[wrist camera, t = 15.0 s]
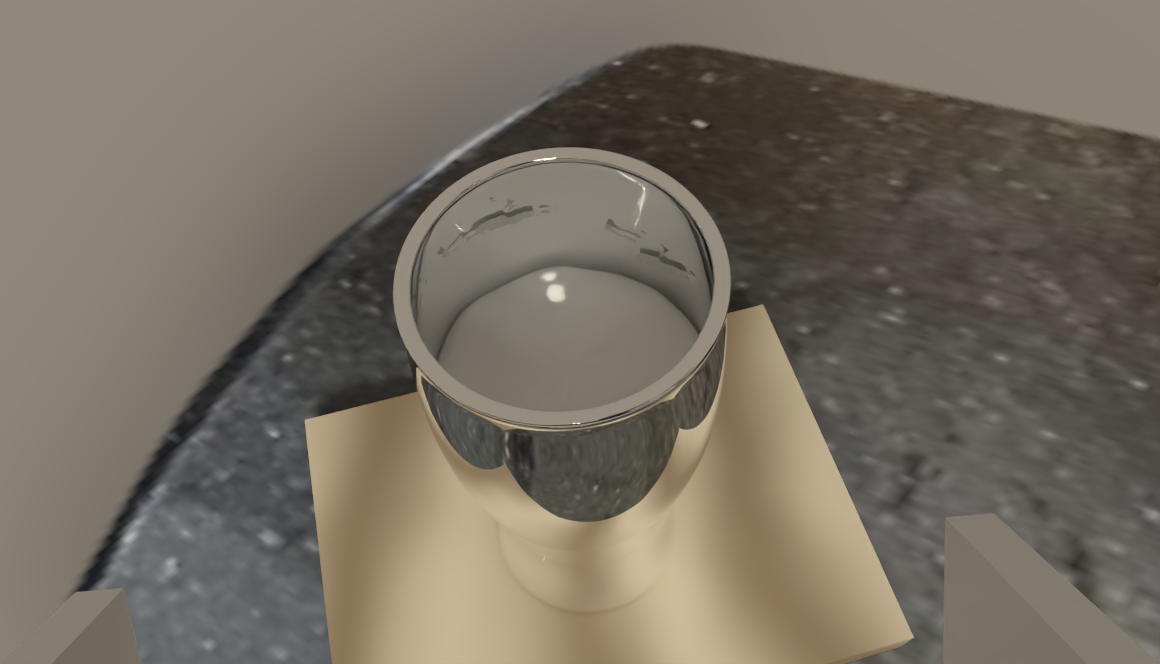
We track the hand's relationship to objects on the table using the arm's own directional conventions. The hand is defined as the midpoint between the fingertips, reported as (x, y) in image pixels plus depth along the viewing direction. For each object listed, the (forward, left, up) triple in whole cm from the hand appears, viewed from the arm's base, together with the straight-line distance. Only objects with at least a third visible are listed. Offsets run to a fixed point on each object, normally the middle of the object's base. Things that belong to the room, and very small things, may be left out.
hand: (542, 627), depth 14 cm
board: (-2, -6, -16) cm, 17 cm away
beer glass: (-2, -6, -15) cm, 16 cm away
